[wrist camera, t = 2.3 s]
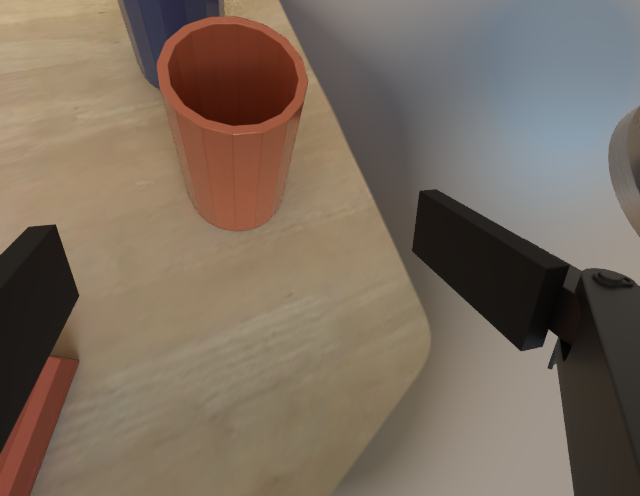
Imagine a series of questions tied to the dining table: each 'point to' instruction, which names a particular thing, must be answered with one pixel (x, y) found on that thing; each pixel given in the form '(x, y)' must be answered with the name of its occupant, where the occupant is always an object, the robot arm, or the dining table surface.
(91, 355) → the dining table surface
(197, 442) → the dining table surface
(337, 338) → the dining table surface
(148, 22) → the blue tumbler
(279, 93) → the terracotta tumbler
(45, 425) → the red tray
